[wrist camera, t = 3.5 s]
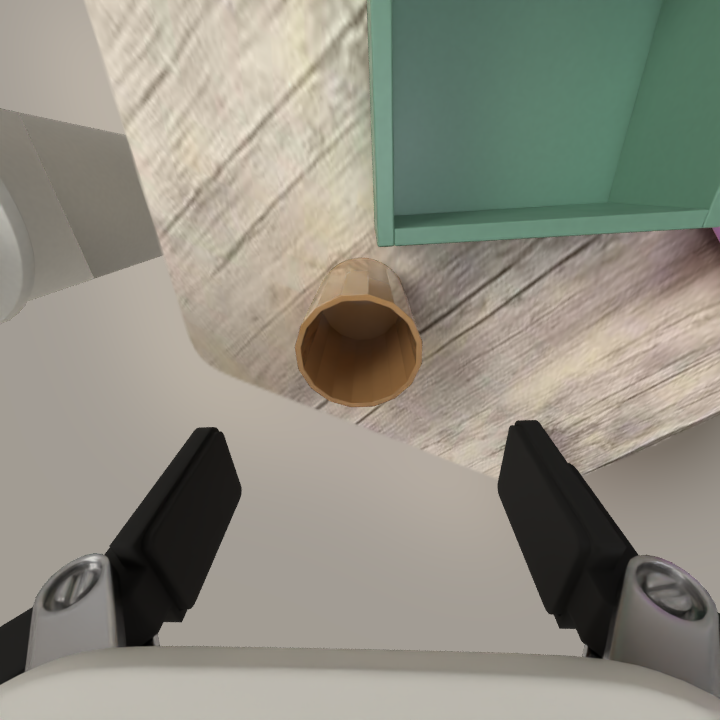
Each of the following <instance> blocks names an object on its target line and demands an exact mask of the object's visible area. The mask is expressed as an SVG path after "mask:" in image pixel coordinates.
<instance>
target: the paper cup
mask: <svg viewBox="0 0 720 720" xmlns="http://www.w3.org/2000/svg"><path fill="white" fill-rule="evenodd" d="M295 352H296V358H297V364H298V369H299V371H300V372H301V374H302V375H303V377H304V378H305V380H306V381H307V383H308V384H309V386H310V387H311V388H312V389H313V390H314V391H316V392H317V393H319V394H320V395H321V396H323V397H324V398H326V399H327V400H329V401H331V402H335V403H338V404H341V405H345V406H348V407H373V406H376V405H379V404H381V403H384V402H387V401H389V400H392V399H394V398H396V397H397V396H398V395H399V394H401V393H402V392H403V391H404V390H405V389H406V388H408V387H409V386H410V385H411V384H412V382H413V380H414V378H415V376H416V374H417V372H418V370H419V368H420V366H421V364H422V339H421V336H420V334H419V331H418V328H417V325H416V322H415V319H414V316H413V314H412V311H411V308H410V305H409V302H408V299H407V296H406V294H405V291H404V289H403V286H402V284H401V282H400V279H399V277H398V276H397V275H396V274H395V273H394V272H393V271H392V270H391V269H390V268H389V267H388V266H386V265H385V264H383V263H381V262H379V261H377V260H373V259H369V258H354V259H350V260H346V261H344V262H342V263H340V264H338V265H337V266H335V267H334V268H333V269H332V270H331V271H330V272H329V273H328V274H327V276H326V277H325V278H324V279H323V281H322V283H321V285H320V287H319V289H318V291H317V293H316V295H315V297H314V299H313V301H312V303H311V305H310V308H309V310H308V312H307V314H306V316H305V318H304V320H303V322H302V324H301V326H300V330H299V334H298V337H297V341H296V345H295Z"/></svg>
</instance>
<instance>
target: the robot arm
mask: <svg viewBox="0 0 720 720" xmlns="http://www.w3.org/2000/svg"><path fill="white" fill-rule="evenodd" d="M498 493H499V496H500V499H501V501H502V504H503V506H504V509H505V511H506V514H507V516H508V519H509V521H510V524H511V526H512V528H513V531H514V533H515V536H516V538H517V541H518V543H519V546H520V548H521V551H522V553H523V555H524V558H525V560H526V563H527V565H528V568H529V570H530V573H531V575H532V578H533V580H534V583H535V585H536V588H537V590H538V592H539V595H540V597H541V600H542V602H543V605H544V607H545V609H546V611H547V612H548V613H549V614H554V616H555V619H556V621H557V624H558V626H559V628H562V629H576V630H577V632H578V634H579V636H580V639H581V641H582V642H583V643H584V644H585V646H584V650H583V654H582V657H577V656H561V655H540V654H519V653H493V652H491V653H490V652H453V651H418V650H374V649H373V650H372V649H327V648H326V649H325V648H277V647H276V648H275V647H213V646H211V647H209V646H160V644H159V638H158V632H159V630H160V628H161V626H162V624H163V622H182V621H183V618H184V616H185V614H186V612H187V609H191V608H192V607H193V605H194V604H195V602H196V600H197V597H198V595H199V593H200V590H201V588H202V586H203V583H204V581H205V579H206V576H207V574H208V572H209V569H210V567H211V565H212V563H213V560H214V558H215V556H216V553H217V551H218V549H219V546H220V544H221V542H222V539H223V537H224V534H225V532H226V530H227V527H228V525H229V523H230V521H231V518H232V516H233V513H234V511H235V509H236V507H237V504H238V502H239V500H240V497H241V484H240V482H239V479H238V476H237V473H236V470H235V467H234V464H233V461H232V458H231V455H230V452H229V449H228V446H227V443H226V440H225V437H224V434H223V433H222V432H219V430H218V429H217V428H215V427H206V428H197V429H196V430H195V431H194V432H193V433H192V435H191V436H190V437H189V439H188V440H187V441H186V443H185V444H184V446H183V447H182V448H181V450H180V451H179V452H178V454H177V455H176V457H175V458H174V459H173V460H172V462H171V463H170V465H169V466H168V467H167V469H166V470H165V471H164V473H163V474H162V476H161V477H160V478H159V479H158V481H157V482H156V484H155V485H154V486H153V488H152V489H151V490H150V492H149V493H148V494H147V496H146V497H145V498H144V500H143V501H142V503H141V504H140V505H139V507H138V508H137V509H136V511H135V512H134V513H133V515H132V516H131V517H130V519H129V520H128V522H127V523H126V524H125V526H124V527H123V528H122V530H121V531H120V532H119V534H118V535H117V536H116V538H115V539H114V541H113V542H112V543H111V545H110V548H109V549H108V551H107V552H106V553H105V555H103V554H97V553H93V554H89V555H85V556H82V557H80V558H77V559H75V560H73V561H71V562H70V563H68V564H67V565H65V566H63V567H62V568H61V569H60V570H59V571H57V572H56V573H55V574H54V575H53V576H51V578H50V579H49V580H48V581H47V582H46V583H45V584H44V586H43V587H42V588H41V590H40V591H39V593H38V594H37V596H36V599H35V602H34V605H33V607H32V608H31V609H29V610H27V611H26V612H24V613H22V614H21V615H19V616H17V617H16V618H14V619H13V620H11V621H9V622H7V623H6V624H4V625H3V626H1V627H0V720H720V613H718V612H717V608H716V605H715V603H714V601H713V600H712V598H711V596H710V595H709V593H708V592H707V590H706V589H705V588H704V587H703V586H702V585H701V584H700V583H699V582H698V581H697V580H696V579H695V578H694V577H692V576H691V575H690V574H689V573H688V572H686V571H685V570H683V569H682V568H680V567H678V566H677V565H675V564H673V563H672V562H669V561H667V560H664V559H662V558H659V557H655V556H650V555H641V556H640V555H638V554H637V552H636V551H635V550H634V548H633V547H632V545H631V544H630V543H629V541H628V540H627V538H626V537H625V536H624V534H623V533H622V531H621V530H620V529H619V527H618V526H617V524H616V523H615V522H614V520H613V519H612V517H611V516H610V515H609V513H608V512H607V511H606V509H605V508H604V506H603V505H602V504H601V502H600V501H599V499H598V498H597V497H596V495H595V494H594V493H593V491H592V490H591V488H590V487H589V486H588V484H587V483H586V481H585V480H584V479H583V477H582V476H581V474H580V473H579V472H578V470H577V469H576V468H575V467H574V466H573V465H572V464H570V463H567V461H566V460H565V458H564V457H563V456H562V454H561V453H560V451H559V450H558V448H557V447H556V446H555V444H554V443H553V441H552V440H551V438H550V437H549V436H548V434H547V433H546V431H545V430H544V429H543V427H542V426H541V424H540V423H539V422H538V421H536V420H524V421H516V422H515V425H512V426H510V427H509V431H508V436H507V441H506V446H505V451H504V456H503V461H502V465H501V470H500V475H499V480H498Z"/></svg>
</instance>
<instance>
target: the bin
mask: <svg viewBox="0 0 720 720" xmlns="http://www.w3.org/2000/svg"><path fill="white" fill-rule="evenodd" d="M367 21H368V50H369V79H370V107H371V136H372V165H373V193H374V222H375V232H376V238H377V244H378V247H388V246H394V245H395V246H406V245H423V244H441V243H458V242H475V241H492V240H509V239H526V238H544V237H561V236H578V235H595V234H612V233H629V232H647V231H664V230H681V229H698V228H715V227H720V0H367Z"/></svg>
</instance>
